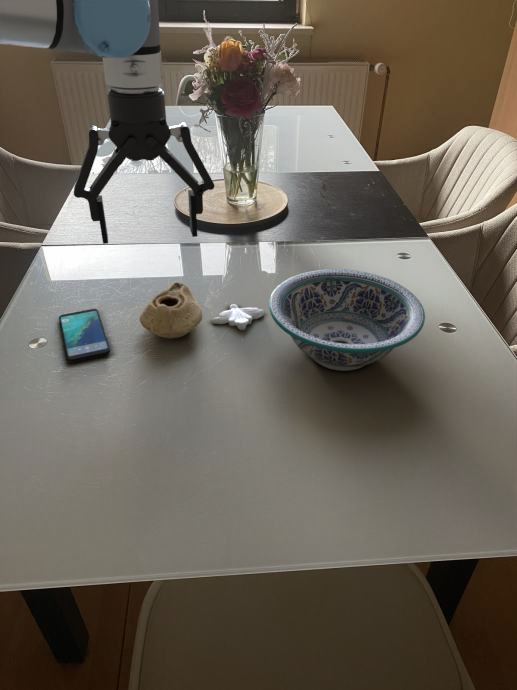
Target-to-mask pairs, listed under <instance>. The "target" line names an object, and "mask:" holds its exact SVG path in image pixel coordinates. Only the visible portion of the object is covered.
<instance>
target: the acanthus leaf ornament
mask: <svg viewBox="0 0 517 690" xmlns="http://www.w3.org/2000/svg"><path fill="white" fill-rule="evenodd" d="M264 314H265V309H263V308H260V309H259V308H258V307H239V306H238V305H237V304H236V303H232V304H230V306H229V310H224V311H221V312H220V313H218V315H217V317H216V316H215V317H214V318H213V319H212V323H213V324H217V325H225V324H228V325H229V326H232V327H234V326H235V327H236V328H237V329H238V330H241V331H245V330H246V329H247V326H248V325H251V324H252V321H253V320H258V319H260V318H261V317H263V316H264Z"/></svg>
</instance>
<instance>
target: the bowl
mask: <svg viewBox="0 0 517 690" xmlns="http://www.w3.org/2000/svg"><path fill="white" fill-rule="evenodd" d="M268 308H269V313H270V316H271V317H272V320H273V321H274V322H275V324H276V325H277V326H278V327H279V328H280V329H281V330H282V331H283V332H285V333H286V334H287V335H288V336H290V337H291V339H292V341H293V342H294V344H295V345H296V346H297V348H299V349H300V350H301V352H303V353H304V354H305V355H306V356H308V357H310V358H311V359H313V361H315V362H316V363H317V364H319V365H320V366H322V367H325V368H327V369H330V370H335V371H342V372H343V371H353V370H359V369H360V368H363V367H364V366H367V365H371V364H373V363H376V362H378V361H380V360H382V359H383V358H385V357H386V356H387V355H388V354H390V352H392V351H393V350H394V349H396V348H398V347H400V346H403V345H405V344H407V343H410V342H411V341H412V340H414V339H415V338H416V336H418V335H419V333H420V332H421V331H422V330H423V327H424V324H425V320H426V313H425V309H424V306H423V305H422V302H421V301H420V300H419V299H418V297H416V295H414V293H413V292H411V291H410V290H408V288H406V287H405V286H402V284H399V283H398V282H396V281H393V280H392V279H389V278H388V277H387V278H386V277H384V276H381V275H377V274H374V273H370V272H366V271H362V270H361V271H360V270H354V269H343V268H331V269H330V268H329V269H328V268H327V269H326V268H325V269H318V270H311V271H306V272H302V273H300V274H296V275H294V276H291V277H289V278H287V279H286V280H284V281H283V282H281V283H280V284H279V285H278V286H276V287H275V289H274V290H273V291H272V292H271V294H270V297H269V301H268Z"/></svg>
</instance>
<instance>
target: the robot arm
mask: <svg viewBox="0 0 517 690" xmlns="http://www.w3.org/2000/svg"><path fill="white" fill-rule="evenodd" d="M159 16H160V15H159V1H158V0H0V45H4V46H16V47H26V48H37V49H46V50H47V49H49V50H52V51H53V50H55V51H62V52H75V53H86V54H93V55H95V56H97V57H100V58H102V66H103V71H104V72H103V73H104V78H105V85H107V86H108V87H109V89H108V91H107V92H106V97H107V105H108V111H109V119H110V125H109V128H99V127H97V126H96V125H90V126H89V128H88V145H87V148H86V151H85V153H84V157H83V159H82V163H81V166H80V169H79V172H78V174H77V178H76V181H75V184H74V187H73V196H74V197H75V198H77V199H80V198H82V199H85V200H86V201H87V203H88V208H89V214H90V219H91V220H92V222H99V226H100V233H101V238H102V239H101V240H102V245H106V244H109V235H108V228H107V227H108V226H107V220H106V214H105V209H104V208H105V206H104V199H103V195H100V194H101V193H102V191H103V190H104V189H105V187H106V186H107V184H108V183H109V182H110V180H111V179H112V177H113V176H114V174H115V173H116V172H117V171H118V169H119V167H120V166H122V164H123V163H124V161H125V160H126V159H127V160H130V161H131V162H139V161H142V160H145V161H155V159H157V158H158V157H159V158H160V159H161V160H162V161H163V162H164V163H165V164H166V165H168V167H170V169H171V170H173V172H174V173H175V174H176V175H177V176H178V177H179V178H180V179H181V180H182V181H183V182H184V183H185V184H186V186H188V187H189V188H190V189H188V190H187V194H188V195H187V196H188V213H189V227H190V228H189V230H190V233H191V236H192V238H194V237H195V238H196V237H198V221H197V215H202V214H203V212H204V199H203V198H204V197H203V196H204V193H205V192H206V191H211V190H214V189H215V183H214V181H213V179H212V177H211V176H210V173H209V171H208V170H207V167H206V166H205V164H204V163H203V160H202V158H201V157H200V155H199V153H198V151H197V149H196V148H195V145H194V144H193V142H192V136H191V131H190V130H191V129H190V128H189V126H188V124H187V123H186V122H185V121H183V122H180V123H179V125H178V124H177V125H172V126H169V125H168V123H167V112H166V99H165V97H166V96H165V92H164V90H163V89H162V88H161V86H163V85H164V74H163V72H164V71H163V61H162V60H163V59H162V51H161V50H162V49H161V31H160V17H159ZM171 137H175V140H176V141H177V142H179V143H182V144H183V147H184V149H185V151H186V153H187V155H188V156H189V159H190V160H191V162H192V163H193V165H194V167H195V169H196V171H197V172H198V175H199V177H200V178H201V180H200V181H198V180H197V179H196V178H195V176H194V175H192V173H191V172H190V171H189V170H188V169H187V168H186V167H185V166H184V165H183V164H182V163H181V161H179V160H178V158H176V157H175V155H174V154H173V153H172V152H171V150H170V149H169V148H168V147H167V146H166V145H167V144H168V142H169V140H170V139H171ZM107 139H109V140H110V141H111V142H112V144H113V145H114V146H115V147H116V148H115V149H114V150H113V152H112V154H111V156H110V158H109V159H108V160H107V161H106V163H105V165H104V166H103V167H102V169H101V171H100V172H99V173H98V175H97V176H96V178H95V179H94V181H93V182H92V183H91V185H89V187H86V186H87V183H88V181H89V178H90V175H91V171H92V169H93V166H94V163H95V161H96V156H97V155H98V151H99V146H103V145H104V144H105V142H106V140H107Z"/></svg>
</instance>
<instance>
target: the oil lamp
mask: <svg viewBox="0 0 517 690" xmlns="http://www.w3.org/2000/svg"><path fill="white" fill-rule="evenodd" d="M147 303H148V304H147V305H146V306H145V307H144V308H143V309H142V311H141V312H140V315H139V323H140V325H141V326H142V328H144V329H145V330H146V331H148V332H149V333H151V334H152V335H155V336H157V337H161V338H164V339H178V338H182V337H184V336H186V335H188V334H189V332H191V331H192V330H194V329H196V328H197V327H198V326H199V325H200V323H201V322H202V320H203V310H202V308H201V306H200V304H199V302H198V301H197V299H196V298H195V296H194V295H193V293H192V291H191V289H190V288H189V287H188V286H187V285H186V284H185V283H183V282H177V281H175V282H173V283H171V284H170V285H169V287H168V288H165V289H164V290H163V291H161V292H160V293H158V294H157V295H155V296H154V297H152V298H151V299H150V300H149V302H147Z"/></svg>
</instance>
